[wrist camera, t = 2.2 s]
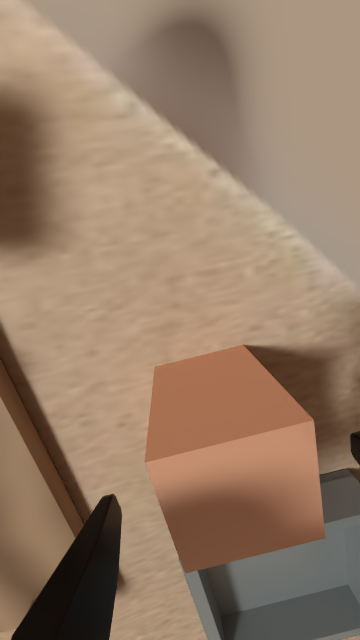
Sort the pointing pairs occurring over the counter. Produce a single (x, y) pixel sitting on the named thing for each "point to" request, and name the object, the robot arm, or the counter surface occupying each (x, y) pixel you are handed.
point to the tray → (291, 581)
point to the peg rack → (28, 510)
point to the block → (231, 460)
